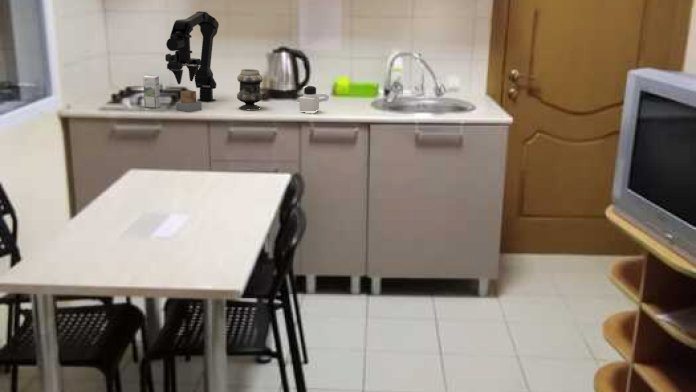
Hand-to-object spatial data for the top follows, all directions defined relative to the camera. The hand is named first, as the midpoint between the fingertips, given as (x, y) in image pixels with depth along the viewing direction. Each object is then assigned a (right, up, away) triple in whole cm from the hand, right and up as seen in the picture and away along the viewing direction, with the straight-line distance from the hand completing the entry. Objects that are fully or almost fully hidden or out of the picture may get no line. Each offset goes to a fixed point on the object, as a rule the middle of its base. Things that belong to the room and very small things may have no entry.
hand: (185, 82), depth 343 cm
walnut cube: (+2, -10, -3) cm, 10 cm away
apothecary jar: (+29, -11, +7) cm, 32 cm away
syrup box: (-16, -11, +2) cm, 19 cm away
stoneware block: (+2, -13, -2) cm, 14 cm away
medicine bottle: (+57, -13, +4) cm, 59 cm away
